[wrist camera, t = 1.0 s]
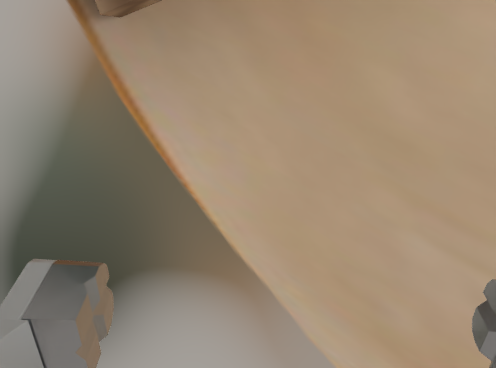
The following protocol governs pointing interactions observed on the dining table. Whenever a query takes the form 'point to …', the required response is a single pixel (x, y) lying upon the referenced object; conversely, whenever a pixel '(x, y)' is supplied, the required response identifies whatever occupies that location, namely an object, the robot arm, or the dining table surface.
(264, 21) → the dining table surface
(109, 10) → the three candle holder
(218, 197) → the dining table surface
